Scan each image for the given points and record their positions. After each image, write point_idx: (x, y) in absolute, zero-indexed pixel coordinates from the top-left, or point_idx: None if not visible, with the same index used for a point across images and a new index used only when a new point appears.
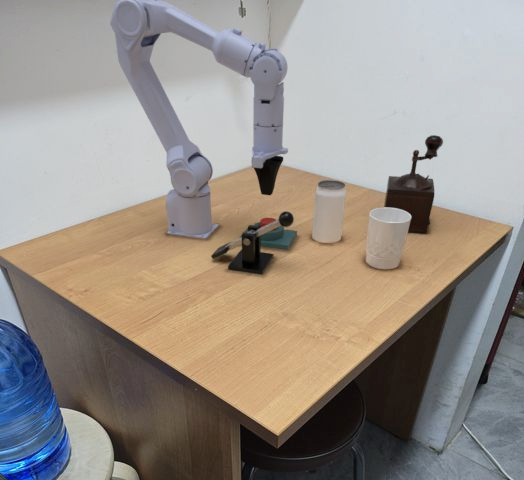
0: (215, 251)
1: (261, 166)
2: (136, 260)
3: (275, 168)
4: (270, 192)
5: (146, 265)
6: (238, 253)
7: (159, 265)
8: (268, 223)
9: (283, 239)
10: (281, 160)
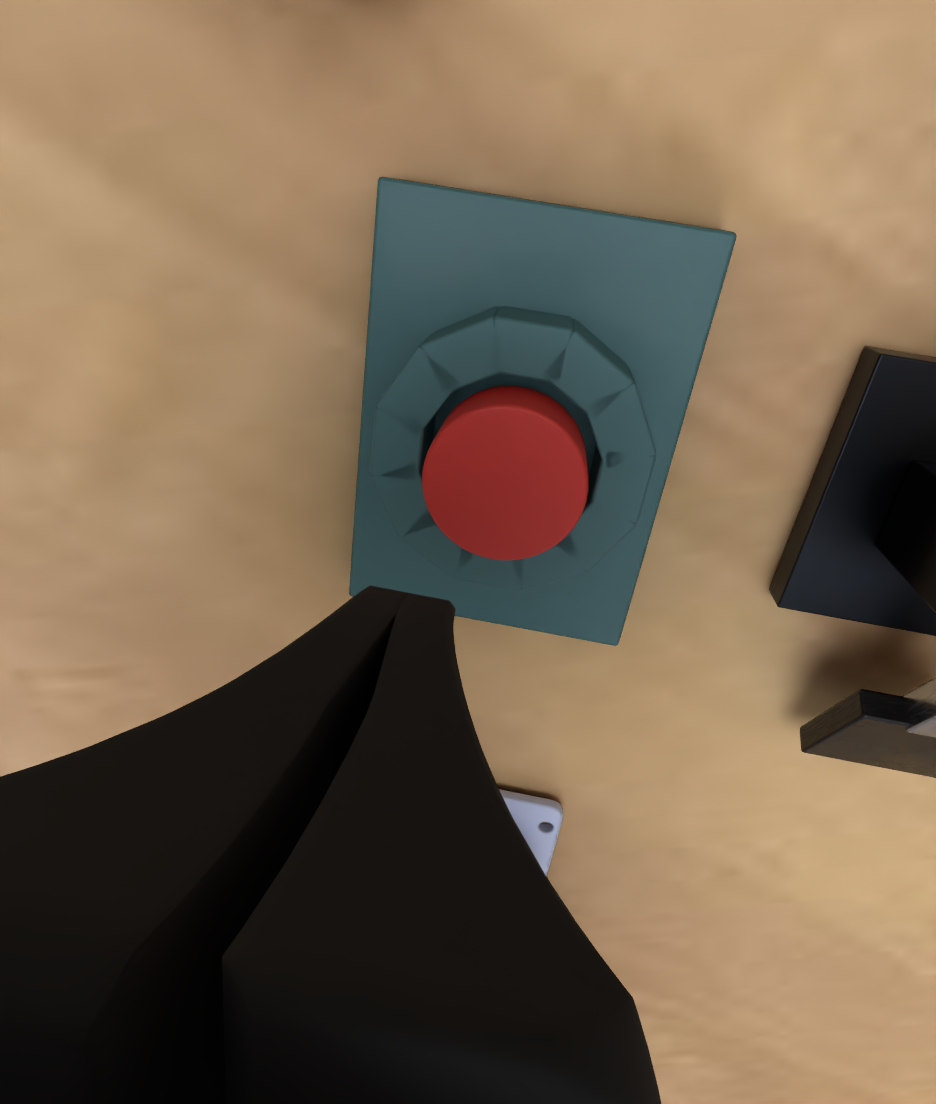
0: (877, 763)
1: None
2: (841, 1029)
3: (619, 985)
4: (451, 626)
5: (905, 994)
6: (852, 617)
7: (911, 951)
8: (575, 481)
9: (605, 295)
10: (80, 992)
